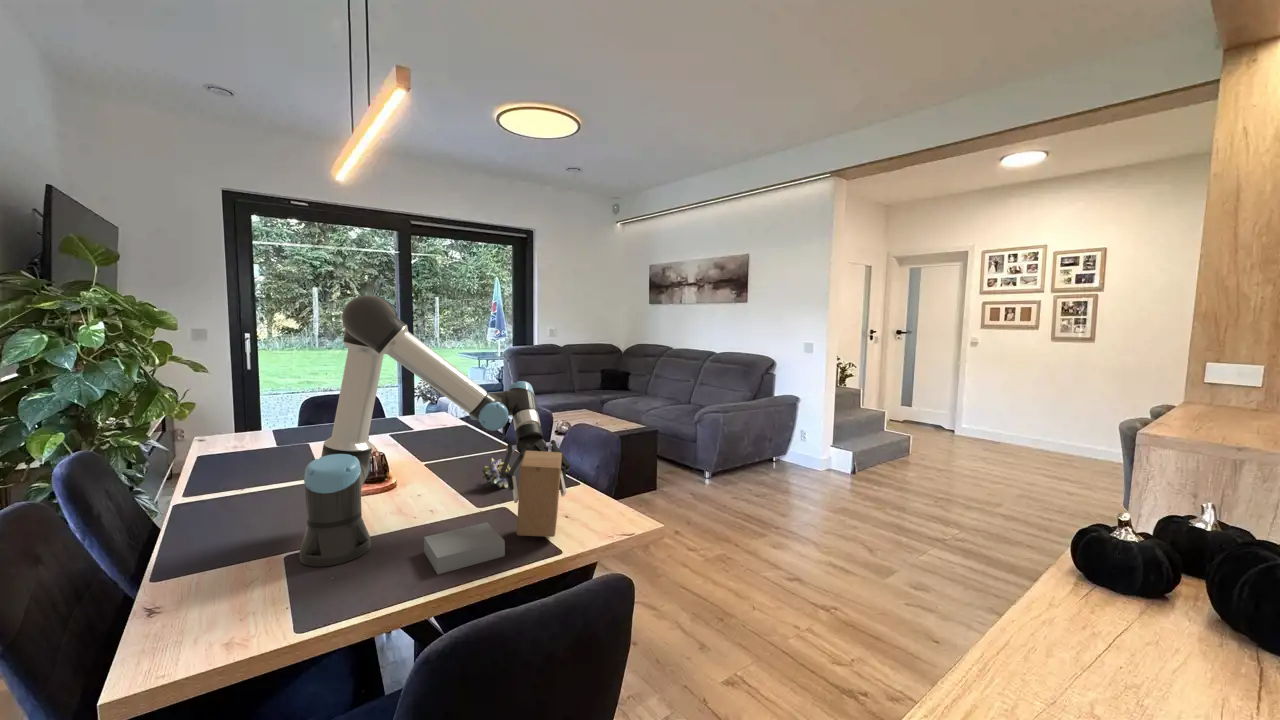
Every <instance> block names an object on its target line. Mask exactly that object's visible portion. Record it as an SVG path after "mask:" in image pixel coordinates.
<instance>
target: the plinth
mask: <svg viewBox="0 0 1280 720" xmlns="http://www.w3.org/2000/svg"><path fill="white" fill-rule="evenodd" d="M505 549H506V541H505V539H504V538H503V537H502V536H501V535H500V534H499V533H498V532H497V531H496V530H495V529H494V528H493V527H492V526H491V525H490V524H489V523H488V522H487V521H486V522H482V523H477V524H474V525H470V526H465V527H461V528H457V529H453V530H448V531H444V532H440V533H435V534H431V535H426V536H423V552H424V555H425V556H426V558H427V559H428V561H429V563H430V564H431V566H432V568H433V570H434V571H435V573H436V574H437V575H441V574H445V573H449V572H452V571H456V570H459V569H463V568H466V567H469V566H470V567H471V566H474V565H478V564H481V563H485V562H488V561H491V560H495V559H499V558H503V557H505V556H506V550H505Z"/></svg>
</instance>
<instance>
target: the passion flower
mask: <svg viewBox="0 0 1280 720" xmlns="http://www.w3.org/2000/svg"><path fill="white" fill-rule="evenodd" d="M503 463H504V461H502V459H501V458H500V459H496V460H495V459H494V458H493V457H491V458H490V464H489V465H488V466H487V465H485V466H484V467H483V468H482V469H481V472H482V473H483V477H482V479H486V480H485V481H486V484H488V482H489V481H490V480H491V478H492V477H493V478H492V480H491V484H492V485H497V488H499V489H501V488H503V489H508V484H507V481H506V479H504V478H503V479H500V478H499V476H500V472H501V469H502V466H503ZM509 464H510V462H509V463H508V466H507V469H506V472H507V473H508V472H509V471H510V469H511V468H512V467H510V465H509Z"/></svg>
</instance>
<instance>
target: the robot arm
mask: <svg viewBox="0 0 1280 720" xmlns="http://www.w3.org/2000/svg"><path fill="white" fill-rule="evenodd" d="M341 321H342V325H343V327H344V334H343V340H342V343H343V344H344V346H346V348H347V354H346V360H345V364H344V370H343V375H342V380H341V385H340V391H339V396H338V401H337V402H338V403H337V406H336V411H335V417H334V423H333V428H332V432H331V433H332V434H331V437H328V438H327V439H326V440H325V441H323V446H322V450H321V457H319V458H316V459H314V460H312V461H310V462H309V463H308V464H307V465H306V467H305V470H304V476H303V484H304V489H305V507H306V508H305V512H306V529H305V533H304V535H303V538H302V541H301V545H300V548H299V561H300V563H301V564H303V565H306V566H309V567H318V568H319V567H320V568H321V567H329V566H335V565H336V566H337V565H340V564H345V563H347V562H350V561H353V560H355V559H357V558H360V557H361V556H364V555H365V554H366V553H367V552H368V551H369V550H370V548H371V546H372V545H371V536H370V533H369V531H368V528H367V526H366V524H365V522H364V520H363V517H362V488H363V486H364V483H365V481H366V479H367V477H368V475H369V474H370V470H371V457H372V450H373V444H372V442H371V441H370V440H369V434H370V428H371V424H372V418H373V413H374V407H375V404H376V403H375V402H376V397H377V392H378V387H379V382H380V376H381V370H382V365H383V361H384V356H385V355H388V356H389V357H391V358H392V359H393V360H394V361H396V362H397V363H399V364H400V365H401V366H403V367H404V368H405V369H406V370H408V371H410V372H411V373H413V375H415V376H416V377H418V379H421V380H422V381H423V382H424V383H426V384H428V385H429V386H430V387H432V388H433V389H434V390H436V391H437V392H438V393H440V394H442V395H443V396H444V397H445V398H447V399H448V400H449V401H451V402H452V403H454V405H456V406H457V407H459V408H460V409H462V410H463V411H465V412H466V413H467V414H468V416H469V418H470V420H471V421H472V420H473V421H478V422H479V423H480V425H481V426H482V427H483V428H484V429H486V430H488V431H491V432H493V431H498V430H499V431H500V430H501V429H502V428H504V427H505V426H506V424H507V423H508V421H509V416H510V417H511V416H512V421H513V427H514V431H515V432H514V433H515V434H514V435H515V440H516V444H512V443H507V445H506V449H505V450H506V452H505V454H506V456H505V459H504V461H503V462H504V463H503V466H502V469H501V472H500V476H499V478H500V479H503V478H504V479H506V481H507V484H508V487H507V489H508V491H512V496H513V497H512V498H513V503H514V504H517V503H518V500H519V489H518V484H517V479H516V475H515V473H516V472H517V470H518V469H519V468H520V466H521V463H522V460H523V457H524V453H525V451H543V452H549V451H550V452H560V453H562V451H561V450H560V448H559V447H558V446H557V442H556V440H554V439H551V441H549V442H546V441H545V440H544V436H543V430H542V427H541V421H540V420H541V419H540V416H539V412H538V411H539V410H538V405H537V402H536V395H535V391H534V389H533V386H532V384H531V383H529V382H527V381H524V380H522V381H521V380H519V381H516V382H514V383H511V384H510V385H509V386H508V388H507V390H504V391H496V392H495V391H494V392H488V391H486V389H484V388H483V387H481V386H480V385H479V384H477V382H475V381H474V380H473V379H471V378H470V377H468V376H467V375H466V374H465V373H463V372H462V371H461V370H460V369H458V368H457V367H456V366H454V365H453V364H452V363H450V362H449V361H448V360H446V359H445V358H443V357H442V356H441V355H439V354H438V353H437V352H436V351H435V350H433V349H432V348H431V347H430V346H428V345H427V344H426V343H424V342H423V341H421V340H420V339H419V338H417V337H416V335H414V334H412V333H411V332H410V331H409V328H408V324H406V323H405V322H404V321H402V320H401V319H400V318H399V316H398V311H397V310H396V307H395V306H394V305H393V304H392V303H391V302H390V301H389V300H387V299H385V298H383V297H380V296H375V295H359V296H357V297H354V298H352V299H351V300H350V301H349V302H348V303H347V304H346V305H345V306H344V308H343V310H342V314H341ZM546 448H547V449H548V450H549V451H548V450H547V449H546ZM515 451H517V452H518V454H519V455H518V456H517V458H516V460H515V461H514V463H513V465H512V466H511V467H510V468H511V469H510V471H509V472H508V473H507V472H506V469H507V466H508V465H509V464H510V460H511V457H512V454H514V452H515ZM508 463H509V464H508ZM570 468H571V464H570V462H569V461H568V460H567V458H566V457H565V455H564V454H563V453H562V460H561V473H560V486H559V493H560V494H561V495H560V496H561V497H565V495H566V494H567V489H566V484H567V482H568V478H567V474H566V472H569V470H570Z"/></svg>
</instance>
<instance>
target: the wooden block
mask: <svg viewBox="0 0 1280 720" xmlns="http://www.w3.org/2000/svg"><path fill="white" fill-rule="evenodd" d="M562 454H563V453H562V452H561V453H560V452H551V451H548V452H543V451H525V453H524V457H523V460H522V462H521V464H520V465H519V469H520V470H519V482H518V483H519V485H518V486H519V488H518V496H519V499H518V502H517V503H518V504H517V505H518V506H517V521H516V535H517V536H522V537H523V536H525V537H526V536H527V537H528V536H529V537H549V538H551V537H552V538H553V537H555V536H556V528H557V522H558V512H559V511H558V510H559V498H560V487H559V486H560V473H561V460H562Z"/></svg>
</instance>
